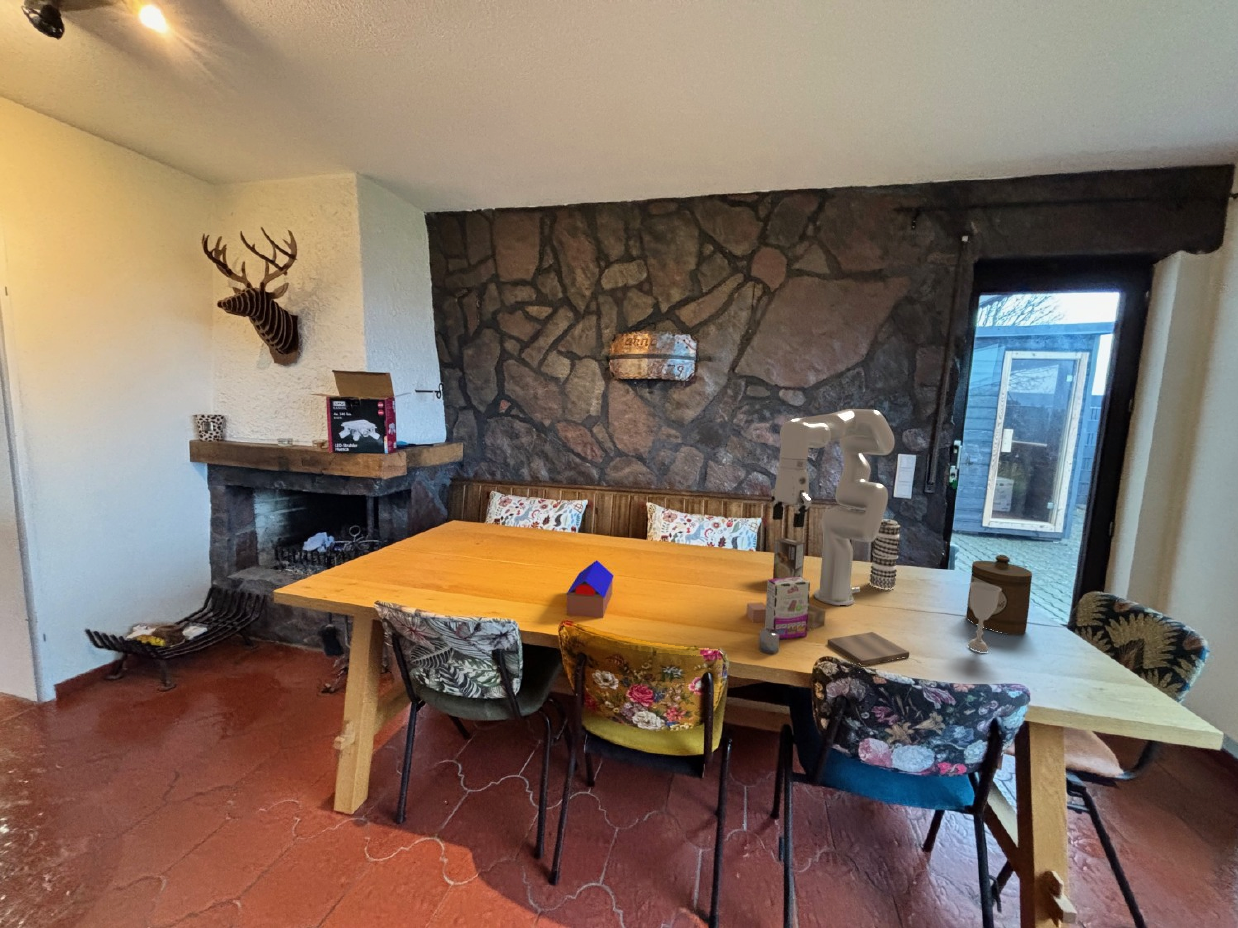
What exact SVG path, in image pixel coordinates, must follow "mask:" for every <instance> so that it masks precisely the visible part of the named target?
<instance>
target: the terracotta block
mask: <svg viewBox="0 0 1238 928" xmlns="http://www.w3.org/2000/svg"><path fill="white" fill-rule="evenodd" d="M746 616H747V617H748V619H750V620H751V622H753V623H761V622H763V623H765V617H766V604H764V603H763V602H747V604H746Z"/></svg>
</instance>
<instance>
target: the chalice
mask: <svg viewBox="0 0 1238 928" xmlns="http://www.w3.org/2000/svg"><path fill="white" fill-rule="evenodd" d="M970 586H971V594H970V604H971V608H972V610H973V612H974V615H975V617H976V618H978V619H979V623H978V625H977V626H976V627H977V630H976V631H975V633H976V637H975V638H972V639H971V640H969V642H968V644H967V645H968V646H969V648H972V649H974V650H977V651H980V652H987V651H989V649H988V645H987V644H986V642H985V641H984V640H983V639H982V636H983V635H984V631H983V627H984V626H983V621H984V620H988V618H989V617H990V616H991V615H992V614H993V613H994V611H995V609H996V608H997V604H998V596H999V593H1000V591H1001V590H1002V589H1001V588H1000V587H998V586H995V585H992V584H987V583H981V582H972V583H971V582H969V587H970Z"/></svg>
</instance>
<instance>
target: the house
mask: <svg viewBox="0 0 1238 928" xmlns="http://www.w3.org/2000/svg"><path fill="white" fill-rule="evenodd" d="M614 577H615V575H614V574H613V573H612V572H611V571H609V570H608V568H606V567H605V566H604V565H603V564H602V563H601V562H600V561H598V559H596V560H594V561H593V562H591V564H589V565H588V566H587V567H585V568H584V569H583V570H581V571H580V572H579V573H578V575H577V576H576V578H575V579H574V581H573V583H572V584H571V586H570V588H569V589H568V590H567V591H566V594H565V596H566V616H576V617H587V618H588V617H589V618H597V619H598V618H601V619H603V618H604V616H605V614H606V611H607V608H608V606H609V604H608V603H610V601H611V598H612V595H613V582H614V581H613V579H614ZM607 605H608V606H607Z"/></svg>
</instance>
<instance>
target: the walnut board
mask: <svg viewBox="0 0 1238 928" xmlns="http://www.w3.org/2000/svg"><path fill="white" fill-rule="evenodd" d="M827 645H828V646H829V647H831V648H833V649H834V650H836V651H837V652H839V653H840V654H842V655H843V656H845V657H847V658H848V659H849V658H850V659H849V660H851V659H852V660H851V661H853V660H854V661H855V662H854V661H853V662H854V663H856V664H857V663H860V664H861V665H867V664H872V665H875V664H874V663H877V664H879V663H878V662H882V663H885V662H884V661H888V660H892V659H897V658H902V657H910V651H908V650H906V649H905V648H903V647H901V646H899V645H897V644H896V643H895V642H892V641H890V640H888V639H886V638H885V637H883V636H881V635H879V634H877V633H875V632H874V631H870V632H864V633H858V634H852V635H846V636H839V637H833V638H828V639H827ZM888 662H889V661H888ZM867 666H868V665H867Z"/></svg>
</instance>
